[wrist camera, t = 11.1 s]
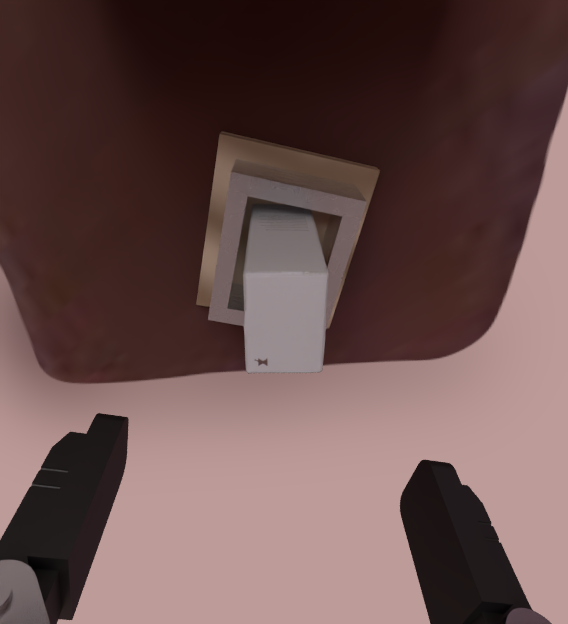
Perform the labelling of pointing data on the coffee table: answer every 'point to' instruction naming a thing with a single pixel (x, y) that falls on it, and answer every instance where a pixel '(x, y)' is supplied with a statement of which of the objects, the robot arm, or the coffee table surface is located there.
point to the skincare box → (284, 291)
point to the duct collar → (292, 191)
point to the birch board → (283, 159)
